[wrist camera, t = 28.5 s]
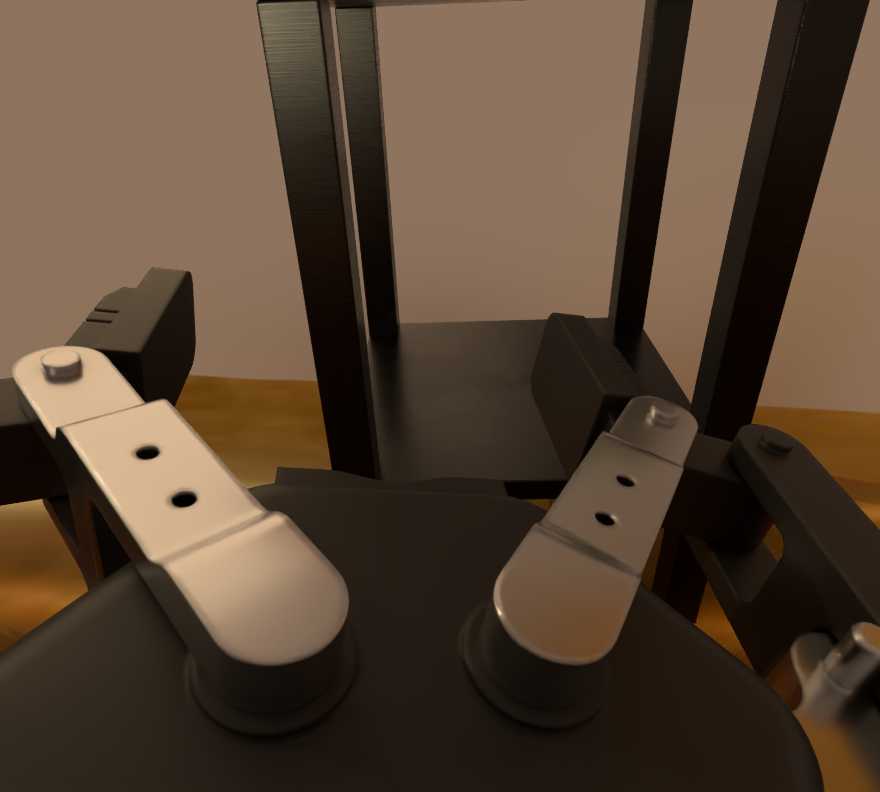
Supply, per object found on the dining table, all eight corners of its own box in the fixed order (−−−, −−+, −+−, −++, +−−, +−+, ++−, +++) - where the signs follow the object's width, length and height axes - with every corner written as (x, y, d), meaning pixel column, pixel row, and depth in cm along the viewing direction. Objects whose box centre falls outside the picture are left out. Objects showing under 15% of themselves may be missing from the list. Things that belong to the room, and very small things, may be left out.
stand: (357, 629, 35) (241, -81, 18) (384, 442, 50) (335, -36, 33) (695, 623, 34) (902, -112, 17) (618, 436, 50) (688, -52, 33)
